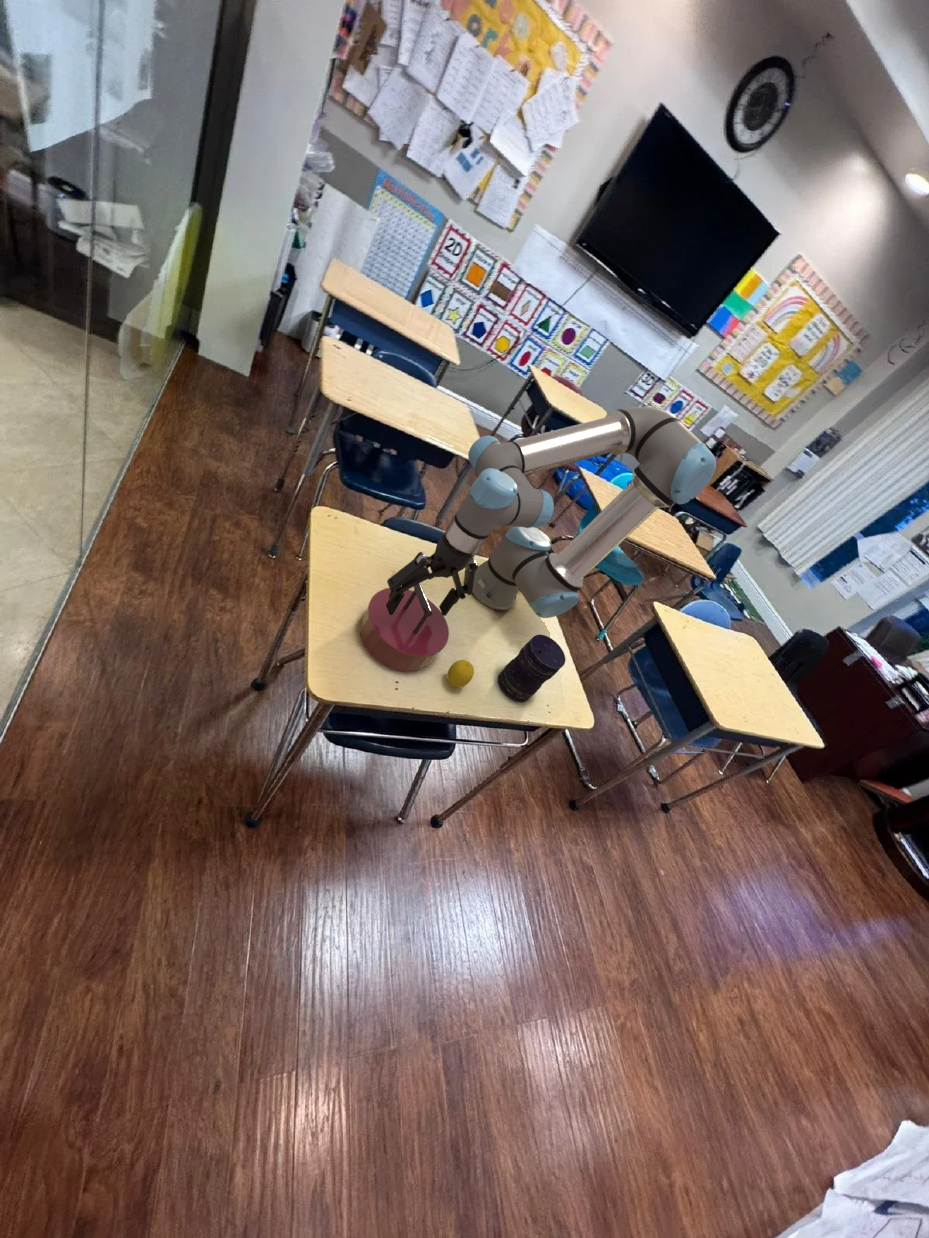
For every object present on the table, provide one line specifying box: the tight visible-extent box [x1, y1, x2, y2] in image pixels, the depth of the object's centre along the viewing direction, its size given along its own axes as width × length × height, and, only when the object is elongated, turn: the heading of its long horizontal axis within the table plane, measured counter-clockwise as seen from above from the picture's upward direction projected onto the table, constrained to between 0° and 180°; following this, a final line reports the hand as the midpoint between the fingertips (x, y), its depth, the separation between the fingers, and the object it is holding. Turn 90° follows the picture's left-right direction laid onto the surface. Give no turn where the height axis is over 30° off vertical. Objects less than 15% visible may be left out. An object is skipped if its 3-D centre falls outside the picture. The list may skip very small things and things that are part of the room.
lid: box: [367, 583, 450, 657], centre depth 114 cm, size 20×20×9 cm
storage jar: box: [497, 634, 566, 703], centre depth 124 cm, size 10×10×15 cm
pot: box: [359, 610, 438, 673], centre depth 118 cm, size 19×19×6 cm
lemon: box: [446, 659, 475, 688], centre depth 117 cm, size 6×6×8 cm
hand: (416, 610), depth 113 cm, fingers open, 13 cm apart
